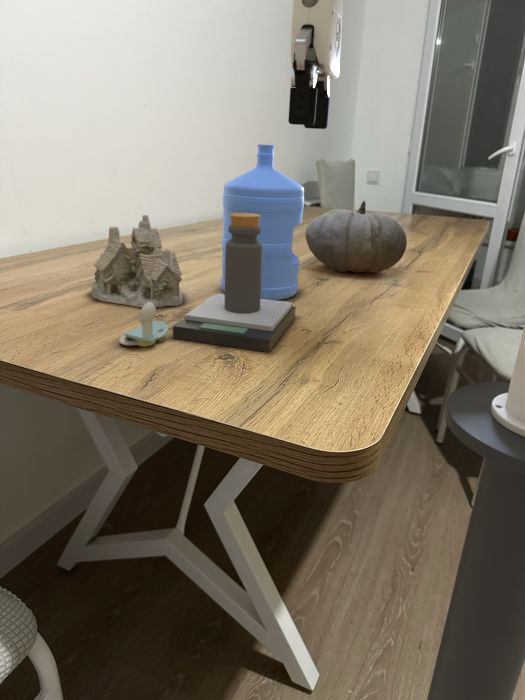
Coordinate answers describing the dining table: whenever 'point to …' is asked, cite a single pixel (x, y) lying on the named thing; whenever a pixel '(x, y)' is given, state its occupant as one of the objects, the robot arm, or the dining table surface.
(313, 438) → the dining table surface
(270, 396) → the dining table surface
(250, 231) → the bottle
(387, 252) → the gourd
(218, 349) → the dining table surface
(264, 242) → the water jug
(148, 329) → the pacifier
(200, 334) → the scale
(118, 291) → the ceramic cottage
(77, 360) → the dining table surface
